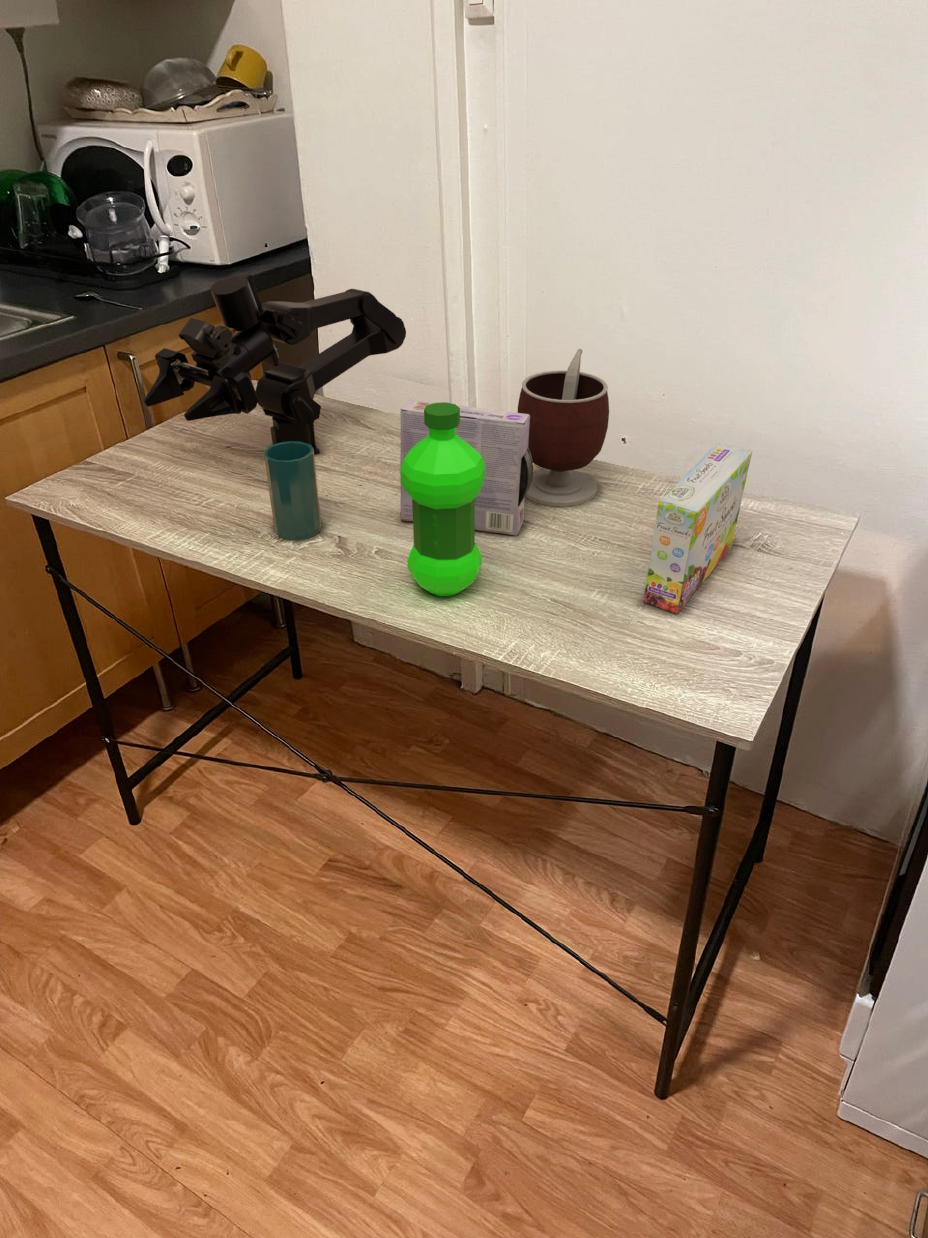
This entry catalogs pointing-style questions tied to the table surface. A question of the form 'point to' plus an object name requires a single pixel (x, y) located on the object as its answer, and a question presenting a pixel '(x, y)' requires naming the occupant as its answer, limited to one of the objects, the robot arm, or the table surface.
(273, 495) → the teal and beige cup
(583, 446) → the mate gourd
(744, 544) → the table surface
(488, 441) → the cake pan box
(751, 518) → the table surface
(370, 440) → the table surface
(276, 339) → the robot arm
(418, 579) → the plastic bottle
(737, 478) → the snack box
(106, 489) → the table surface
